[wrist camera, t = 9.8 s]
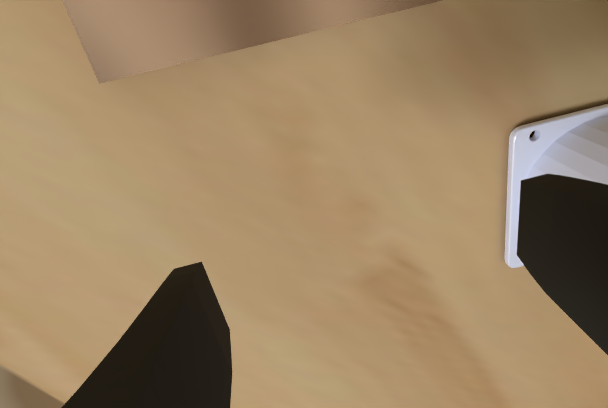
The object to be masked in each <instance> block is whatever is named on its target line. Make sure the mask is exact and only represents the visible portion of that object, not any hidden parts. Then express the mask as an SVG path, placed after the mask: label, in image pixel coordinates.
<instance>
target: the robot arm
mask: <svg viewBox="0 0 608 408" xmlns="http://www.w3.org/2000/svg"><path fill="white" fill-rule="evenodd" d="M533 131H535V133H534V135H533V136H532V137H531V138H529V136H530V134H531V133H532V132H533ZM505 262H506V263H507V264H508V265H509V266H510V267H511V268H517V267H521V266H525V267H526V268H527V270H528V271H529V273H530V274H531V275H532V277H533V278H534V279H535V280H536V282H537V283H538V284H539V285H540V287H541V288H542V289H543V290H544V292H545V293H546V294H547V295H548V296H549V297H550V298H551V299H552V300H553V301H554V302H555V303H556V304H557V305H558V306H559V307H560V308H561V309H562V310H563V311H564V312H565V313H566V314H567V315H568V316H569V317H570V318H571V319H572V320H573V321H574V322H575V323H576V324H577V325H578V326H579V327H580V328H581V329H582V330H583V331H584V332H585V333H586V334H587V335H588V336H589V337H590V338H591V339H592V340H593V341H594V342H595V343H596V344H597V345H598V346H599V347H600V348H601V349H602V350H603V351H604V352H605V353H606V354H607V355H608V104H605V105H601V106H597V107H593V108H589V109H585V110H581V111H577V112H573V113H569V114H565V115H561V116H557V117H553V118H549V119H545V120H541V121H537V122H533V123H529V124H525V125H521V126H519V127H516V128H515V129H514V130H513V131H512V132H511V134H510V138H509V157H508V183H507V209H506V235H505ZM231 383H232V360H231V343H230V329H229V327H228V325H227V322H226V320H225V317H224V315H223V312H222V310H221V308H220V305H219V303H218V300H217V298H216V295H215V293H214V291H213V288H212V286H211V283H210V281H209V278H208V276H207V274H206V271H205V269H204V266H203V264H202V262H199V263H195V264H191V265H187V266H184V267H180V268H176V269H174V270H173V271H172V272H171V273H170V274H169V276H168V277H167V278H166V280H165V281H164V282H163V283H162V285H161V286H160V287H159V289H158V290H157V291H156V293H155V294H154V295H153V297H152V298H151V299H150V301H149V302H148V303H147V305H146V306H145V307H144V309H143V310H142V311H141V313H140V314H139V315H138V317H137V318H136V319H135V320H134V322H133V323H132V324H131V326H130V327H129V328H128V330H127V331H126V332H125V333H124V335H123V336H122V337H121V339H120V340H119V341H118V342H117V344H116V345H115V346H114V347H113V348H112V350H111V351H110V352H109V353H108V354H107V356H106V357H105V358H104V359H103V360H102V362H101V363H100V364H99V365H98V366H97V368H96V369H95V370H94V371H93V372H92V374H91V375H90V376H89V377H88V378H87V379H86V381H85V382H84V383H83V384H82V385H81V387H80V388H79V389H78V390H77V391H76V392H75V393H74V395H73V396H72V397H71V398H70V399H69V400H68V401H67V402H66V403H65V405H64V406H63V407H62V408H230V399H231Z"/></svg>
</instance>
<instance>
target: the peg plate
mask: <svg viewBox="0 0 608 408" xmlns="http://www.w3.org/2000/svg"><path fill="white" fill-rule="evenodd" d="M62 1H63V3H64V5H65V8H66V10H67V12H68V14H69V17H70V19H71V21H72V23H73V26H74V28H75V30H76V32H77V35H78V37H79V39H80V41H81V44H82V46H83V48H84V50H85V53H86V55H87V57H88V59H89V61H90V64H91V66H92V68H93V70H94V73H95V75H96V77H97V79H98V82H99V83H103V82H107V81H111V80H116V79H120V78H124V77H128V76H132V75H136V74H140V73H144V72H149V71H153V70H157V69H161V68H165V67H169V66H173V65H177V64H182V63H186V62H190V61H194V60H198V59H202V58H206V57H210V56H215V55H219V54H223V53H227V52H231V51H235V50H239V49H243V48H247V47H252V46H256V45H260V44H264V43H268V42H272V41H276V40H280V39H285V38H289V37H293V36H297V35H301V34H305V33H309V32H313V31H318V30H322V29H326V28H330V27H334V26H338V25H342V24H346V23H351V22H355V21H359V20H363V19H367V18H371V17H375V16H379V15H384V14H388V13H392V12H396V11H400V10H404V9H408V8H412V7H417V6H421V5H425V4H429V3H433V2H437V1H441V0H62Z"/></svg>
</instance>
